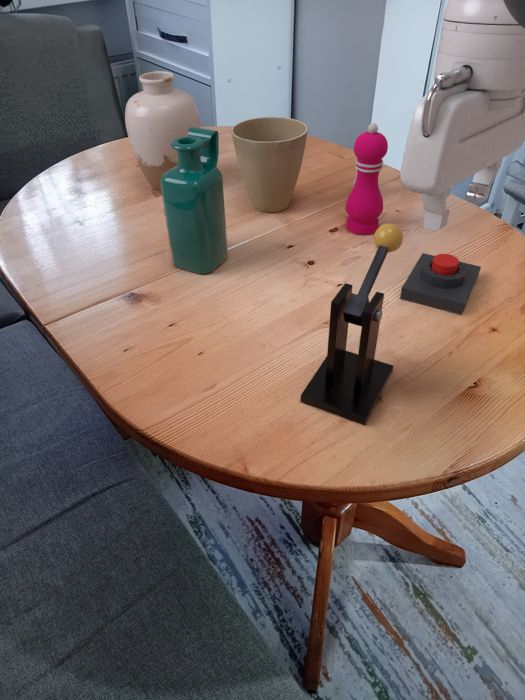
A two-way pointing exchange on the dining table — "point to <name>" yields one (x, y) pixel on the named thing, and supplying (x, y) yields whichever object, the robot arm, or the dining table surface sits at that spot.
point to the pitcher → (195, 203)
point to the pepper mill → (366, 183)
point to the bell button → (445, 264)
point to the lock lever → (373, 271)
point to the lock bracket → (350, 365)
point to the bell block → (440, 285)
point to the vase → (158, 123)
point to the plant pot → (270, 159)
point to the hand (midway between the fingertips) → (456, 213)
